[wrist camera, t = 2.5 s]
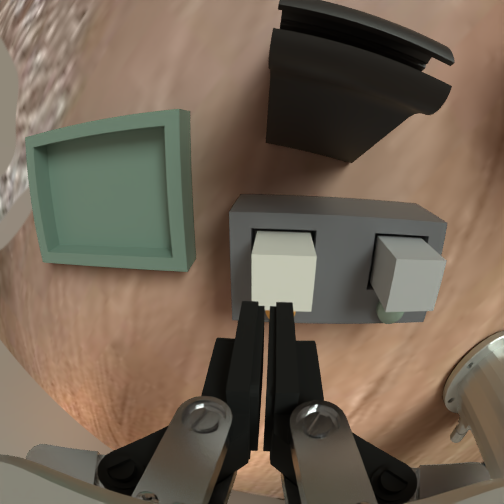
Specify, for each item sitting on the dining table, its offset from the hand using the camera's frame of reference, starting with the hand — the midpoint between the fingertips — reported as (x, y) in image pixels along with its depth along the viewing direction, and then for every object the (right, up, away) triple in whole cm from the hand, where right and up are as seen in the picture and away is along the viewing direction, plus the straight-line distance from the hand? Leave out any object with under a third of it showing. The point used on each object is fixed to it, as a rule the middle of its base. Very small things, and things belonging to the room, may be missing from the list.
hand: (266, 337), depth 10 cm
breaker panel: (+5, +3, +12) cm, 13 cm away
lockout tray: (-12, +8, +12) cm, 18 cm away
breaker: (+8, +2, +7) cm, 11 cm away
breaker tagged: (+1, +3, +8) cm, 8 cm away
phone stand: (+4, +14, +8) cm, 16 cm away
